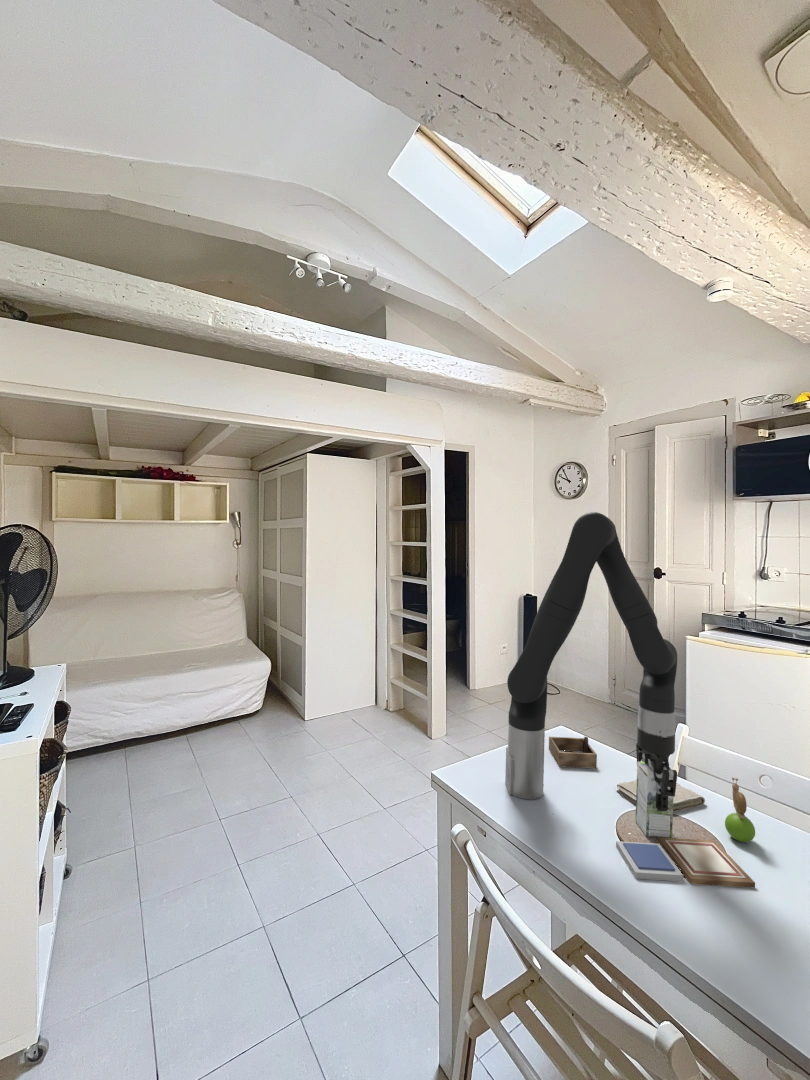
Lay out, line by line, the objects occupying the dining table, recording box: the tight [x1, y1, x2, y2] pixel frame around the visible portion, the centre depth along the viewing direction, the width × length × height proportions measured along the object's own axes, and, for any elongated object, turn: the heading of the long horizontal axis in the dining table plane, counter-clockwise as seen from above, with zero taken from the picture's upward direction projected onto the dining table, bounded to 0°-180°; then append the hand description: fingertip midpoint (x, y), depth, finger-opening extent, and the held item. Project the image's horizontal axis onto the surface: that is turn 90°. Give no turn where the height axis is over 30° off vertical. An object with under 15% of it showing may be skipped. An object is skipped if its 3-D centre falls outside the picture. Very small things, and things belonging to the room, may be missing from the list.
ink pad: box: [615, 840, 684, 882], centre depth 91 cm, size 9×9×2 cm
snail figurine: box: [724, 777, 756, 843], centre depth 100 cm, size 5×6×12 cm
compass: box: [562, 735, 589, 753], centre depth 134 cm, size 8×8×7 cm
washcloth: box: [616, 779, 706, 813], centre depth 115 cm, size 12×18×3 cm, turn 110°
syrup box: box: [635, 760, 674, 838], centre depth 102 cm, size 6×6×14 cm
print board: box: [657, 837, 756, 889], centre depth 91 cm, size 12×12×1 cm
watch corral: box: [548, 736, 598, 769], centre depth 135 cm, size 11×11×4 cm
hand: (654, 801), depth 102 cm, fingers closed on syrup box, 6 cm apart
